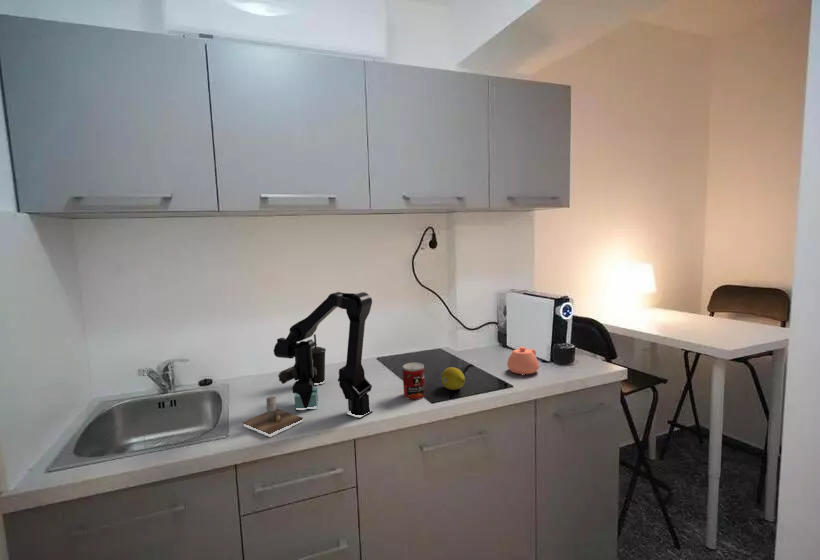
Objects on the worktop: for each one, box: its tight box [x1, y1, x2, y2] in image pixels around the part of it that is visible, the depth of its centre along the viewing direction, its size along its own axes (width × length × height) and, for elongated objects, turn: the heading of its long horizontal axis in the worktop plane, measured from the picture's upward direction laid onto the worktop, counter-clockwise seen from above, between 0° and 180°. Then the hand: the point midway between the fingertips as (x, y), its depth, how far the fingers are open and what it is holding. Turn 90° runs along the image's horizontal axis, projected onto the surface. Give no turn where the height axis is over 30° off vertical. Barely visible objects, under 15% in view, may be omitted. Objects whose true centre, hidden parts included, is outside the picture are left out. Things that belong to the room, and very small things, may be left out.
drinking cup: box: [312, 333, 326, 383], centre depth 161 cm, size 8×8×20 cm
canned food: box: [402, 362, 426, 400], centre depth 144 cm, size 8×8×11 cm
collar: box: [294, 387, 319, 408], centre depth 140 cm, size 7×7×5 cm
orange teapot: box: [506, 346, 540, 376], centre depth 164 cm, size 12×14×10 cm
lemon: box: [440, 366, 466, 391], centre depth 149 cm, size 11×8×8 cm
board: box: [242, 396, 304, 434], centre depth 127 cm, size 14×12×8 cm
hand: (307, 403), depth 140 cm, fingers closed on collar, 7 cm apart
